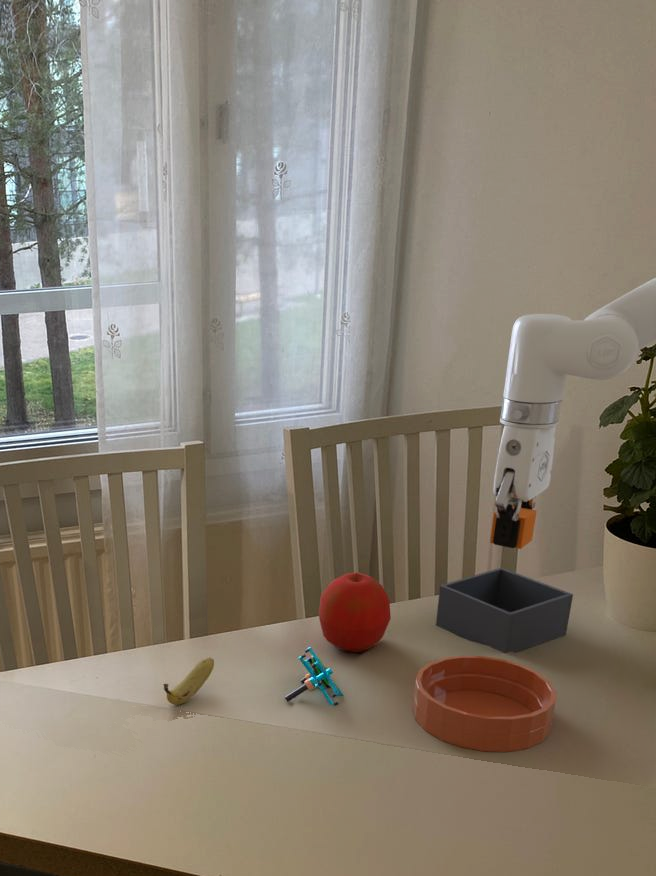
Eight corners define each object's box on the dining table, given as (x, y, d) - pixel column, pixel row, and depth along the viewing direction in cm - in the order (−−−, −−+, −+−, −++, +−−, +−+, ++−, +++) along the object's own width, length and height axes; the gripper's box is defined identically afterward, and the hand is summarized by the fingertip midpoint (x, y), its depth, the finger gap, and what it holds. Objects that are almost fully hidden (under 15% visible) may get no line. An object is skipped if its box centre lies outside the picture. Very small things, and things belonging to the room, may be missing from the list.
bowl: (475, 678, 123) (480, 645, 121) (578, 730, 110) (585, 694, 108) (385, 711, 116) (388, 676, 114) (484, 771, 103) (490, 733, 101)
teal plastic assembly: (350, 702, 113) (315, 650, 113) (303, 732, 115) (268, 681, 114) (344, 682, 125) (313, 636, 125) (302, 709, 126) (270, 663, 126)
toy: (501, 534, 133) (505, 504, 131) (532, 540, 131) (536, 510, 129) (489, 542, 130) (493, 512, 128) (520, 549, 128) (525, 518, 126)
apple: (315, 630, 138) (318, 559, 133) (383, 631, 137) (388, 559, 132) (319, 660, 129) (322, 585, 124) (391, 662, 128) (398, 585, 123)
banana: (204, 680, 124) (204, 654, 123) (219, 685, 123) (219, 658, 121) (157, 709, 117) (156, 682, 116) (172, 715, 116) (171, 687, 114)
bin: (495, 605, 145) (501, 567, 142) (566, 634, 135) (573, 594, 132) (435, 624, 139) (439, 585, 136) (504, 656, 129) (510, 614, 126)
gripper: (536, 427, 114) (515, 563, 122) (579, 404, 126) (557, 530, 134) (478, 419, 119) (462, 552, 127) (525, 398, 130) (507, 521, 138)
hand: (511, 539), depth 130 cm, fingers closed on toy, 4 cm apart
